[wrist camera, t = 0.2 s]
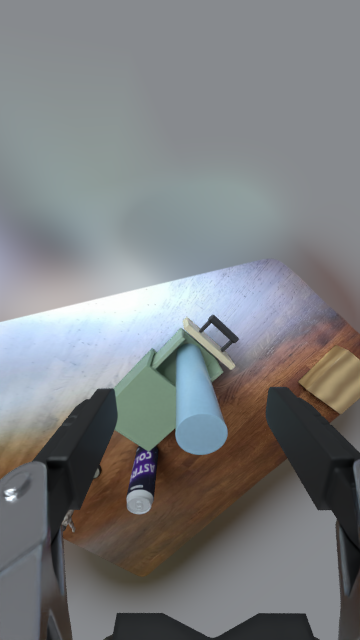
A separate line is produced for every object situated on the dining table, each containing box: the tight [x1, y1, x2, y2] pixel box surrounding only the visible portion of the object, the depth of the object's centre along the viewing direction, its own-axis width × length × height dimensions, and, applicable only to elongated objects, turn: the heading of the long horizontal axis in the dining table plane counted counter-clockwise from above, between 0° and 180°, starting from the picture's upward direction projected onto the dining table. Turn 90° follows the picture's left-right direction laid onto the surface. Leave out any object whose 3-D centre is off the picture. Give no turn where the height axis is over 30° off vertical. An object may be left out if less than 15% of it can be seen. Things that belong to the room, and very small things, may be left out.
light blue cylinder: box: [175, 344, 228, 455], centre depth 28 cm, size 6×6×19 cm
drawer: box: [150, 315, 239, 385], centre depth 36 cm, size 19×12×6 cm, turn 137°
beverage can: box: [127, 446, 158, 514], centre depth 41 cm, size 6×6×12 cm
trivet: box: [298, 345, 360, 414], centre depth 41 cm, size 12×12×3 cm
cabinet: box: [114, 348, 176, 452], centre depth 38 cm, size 16×14×8 cm
